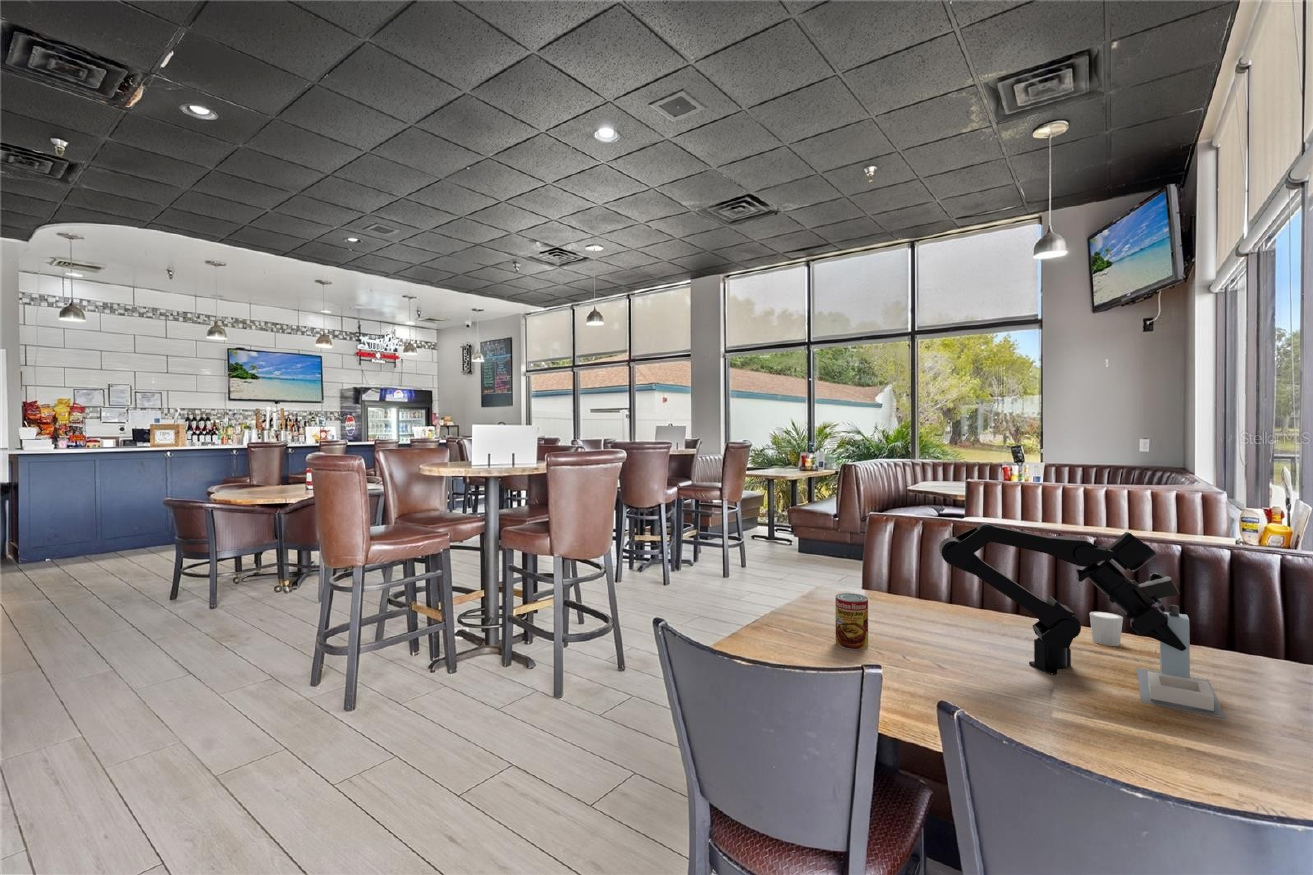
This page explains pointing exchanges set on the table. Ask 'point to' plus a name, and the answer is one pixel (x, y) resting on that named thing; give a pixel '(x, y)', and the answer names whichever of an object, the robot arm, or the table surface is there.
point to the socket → (1180, 692)
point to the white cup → (1106, 628)
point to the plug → (1171, 657)
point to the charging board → (1145, 698)
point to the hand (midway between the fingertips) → (1183, 646)
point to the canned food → (851, 621)
